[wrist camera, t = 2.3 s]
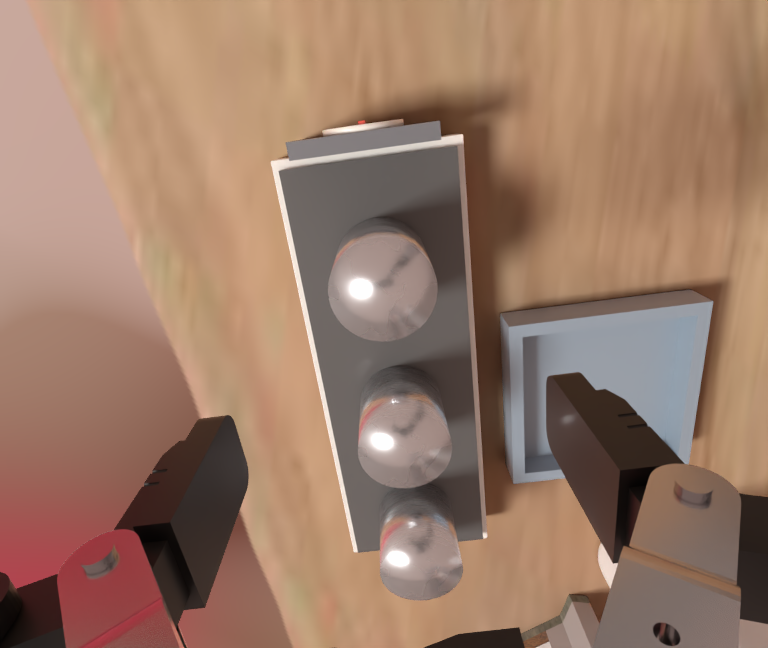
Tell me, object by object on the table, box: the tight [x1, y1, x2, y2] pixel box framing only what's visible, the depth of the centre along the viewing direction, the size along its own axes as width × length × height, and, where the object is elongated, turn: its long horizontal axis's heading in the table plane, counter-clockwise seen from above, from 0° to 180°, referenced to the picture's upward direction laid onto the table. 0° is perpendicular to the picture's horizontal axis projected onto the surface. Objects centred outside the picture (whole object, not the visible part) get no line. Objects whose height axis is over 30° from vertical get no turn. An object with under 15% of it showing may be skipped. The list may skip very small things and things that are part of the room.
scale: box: [271, 119, 487, 553], centre depth 29 cm, size 29×10×5 cm, turn 7°
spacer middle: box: [358, 365, 452, 488], centre depth 27 cm, size 5×5×5 cm
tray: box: [500, 289, 713, 484], centre depth 31 cm, size 12×12×2 cm
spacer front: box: [328, 217, 438, 342], centre depth 24 cm, size 5×5×5 cm
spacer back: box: [380, 483, 463, 600], centre depth 31 cm, size 5×5×5 cm
